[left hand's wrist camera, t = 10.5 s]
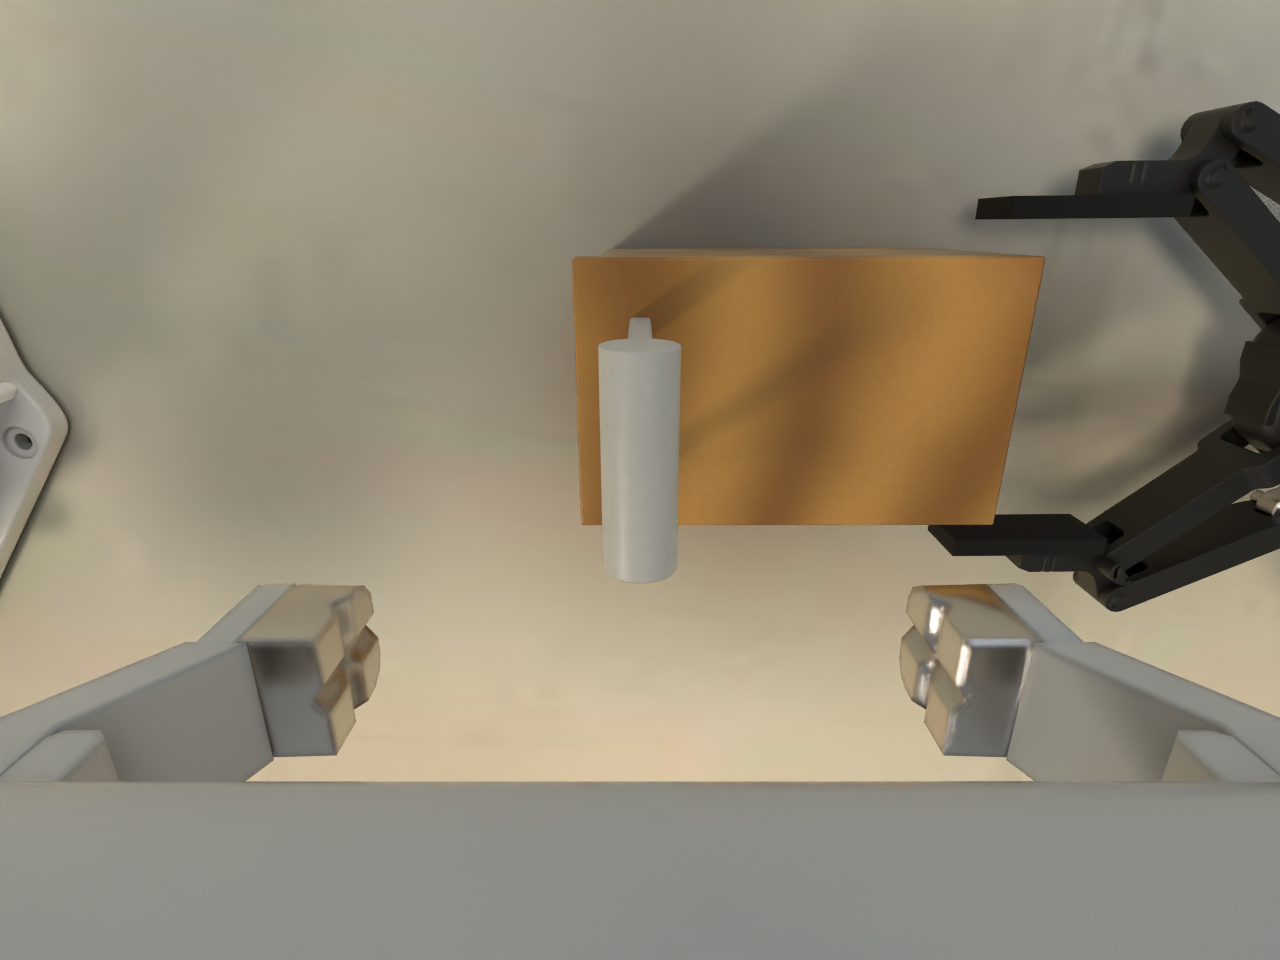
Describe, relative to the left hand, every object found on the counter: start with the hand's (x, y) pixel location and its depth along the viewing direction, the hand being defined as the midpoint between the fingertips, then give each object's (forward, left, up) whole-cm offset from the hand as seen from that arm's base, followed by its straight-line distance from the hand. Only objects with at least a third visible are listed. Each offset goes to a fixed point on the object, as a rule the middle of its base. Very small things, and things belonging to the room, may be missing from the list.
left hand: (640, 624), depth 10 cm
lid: (+2, -5, -16) cm, 17 cm away
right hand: (+5, -12, -19) cm, 23 cm away
